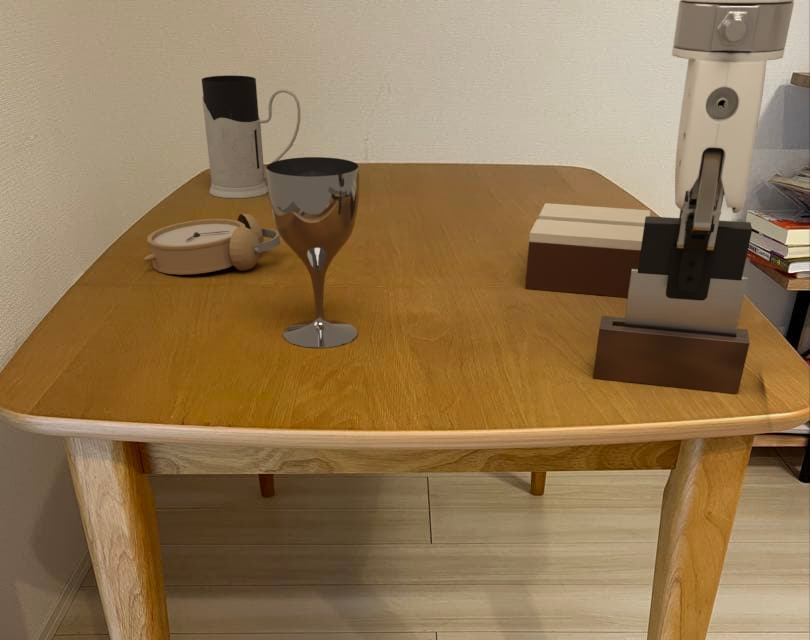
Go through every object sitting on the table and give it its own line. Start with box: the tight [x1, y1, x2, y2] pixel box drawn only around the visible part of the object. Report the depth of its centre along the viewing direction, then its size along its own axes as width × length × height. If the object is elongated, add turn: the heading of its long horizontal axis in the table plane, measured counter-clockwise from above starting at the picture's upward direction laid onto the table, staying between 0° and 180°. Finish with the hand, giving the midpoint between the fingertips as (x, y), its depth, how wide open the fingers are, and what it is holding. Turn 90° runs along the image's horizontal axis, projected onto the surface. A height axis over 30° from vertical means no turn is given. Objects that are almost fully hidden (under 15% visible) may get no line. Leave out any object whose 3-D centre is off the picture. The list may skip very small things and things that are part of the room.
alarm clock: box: [143, 213, 281, 276], centre depth 101 cm, size 11×5×15 cm
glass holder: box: [201, 75, 301, 199], centre depth 127 cm, size 9×14×15 cm, turn 88°
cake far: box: [538, 202, 651, 227], centre depth 101 cm, size 12×6×6 cm, turn 75°
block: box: [592, 315, 751, 395], centre depth 75 cm, size 12×3×4 cm, turn 75°
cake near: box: [524, 218, 644, 299], centre depth 95 cm, size 12×6×6 cm, turn 75°
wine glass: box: [265, 156, 360, 349], centre depth 80 cm, size 8×8×15 cm
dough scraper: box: [624, 215, 753, 337], centre depth 72 cm, size 9×2×12 cm, turn 75°
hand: (685, 290), depth 72 cm, fingers closed on dough scraper, 2 cm apart
